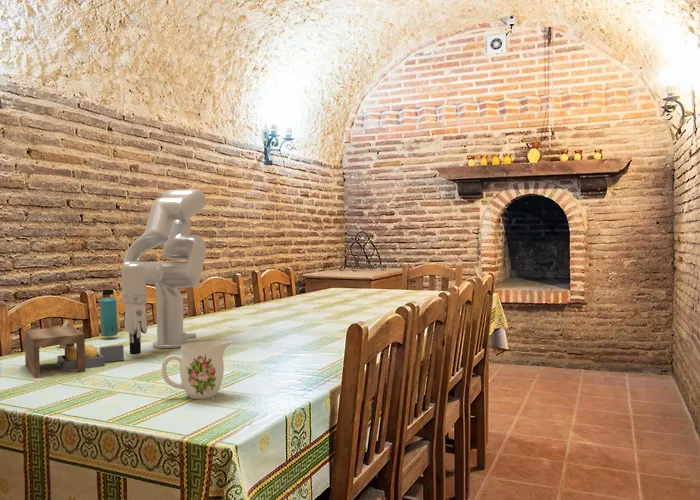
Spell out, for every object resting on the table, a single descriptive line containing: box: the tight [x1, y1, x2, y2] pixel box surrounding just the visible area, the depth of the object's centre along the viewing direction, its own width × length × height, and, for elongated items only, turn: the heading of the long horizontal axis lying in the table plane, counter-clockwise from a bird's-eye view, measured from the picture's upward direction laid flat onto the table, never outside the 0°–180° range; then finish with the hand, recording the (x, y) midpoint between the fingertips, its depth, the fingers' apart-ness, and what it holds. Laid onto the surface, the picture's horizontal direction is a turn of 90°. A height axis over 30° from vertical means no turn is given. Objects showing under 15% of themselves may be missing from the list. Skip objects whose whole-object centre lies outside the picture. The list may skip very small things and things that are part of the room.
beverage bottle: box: [99, 288, 119, 337], centre depth 242 cm, size 6×7×20 cm
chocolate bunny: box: [58, 320, 76, 349], centre depth 226 cm, size 6×8×10 cm
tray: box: [57, 344, 125, 372], centre depth 195 cm, size 19×11×6 cm, turn 124°
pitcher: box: [161, 340, 234, 400], centre depth 155 cm, size 11×18×14 cm, turn 105°
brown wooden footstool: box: [24, 325, 86, 379], centre depth 189 cm, size 14×20×11 cm
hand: (135, 353), depth 203 cm, fingers closed
